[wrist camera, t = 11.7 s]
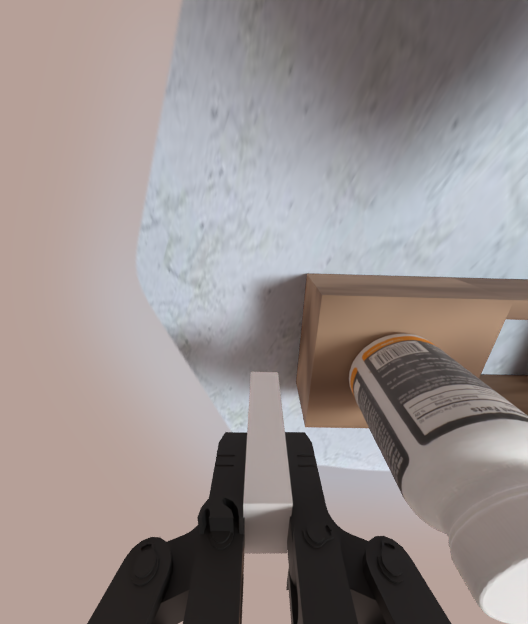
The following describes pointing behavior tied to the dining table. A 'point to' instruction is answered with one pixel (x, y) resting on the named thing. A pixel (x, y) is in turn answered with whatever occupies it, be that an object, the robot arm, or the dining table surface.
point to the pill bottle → (453, 461)
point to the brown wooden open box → (399, 332)
